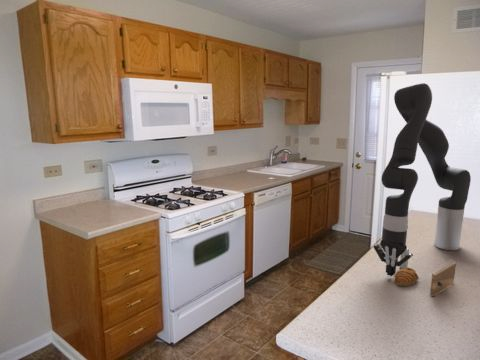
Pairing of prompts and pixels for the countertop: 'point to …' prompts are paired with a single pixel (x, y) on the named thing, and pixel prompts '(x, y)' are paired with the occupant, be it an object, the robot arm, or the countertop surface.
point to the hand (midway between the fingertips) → (390, 274)
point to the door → (442, 279)
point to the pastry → (406, 277)
